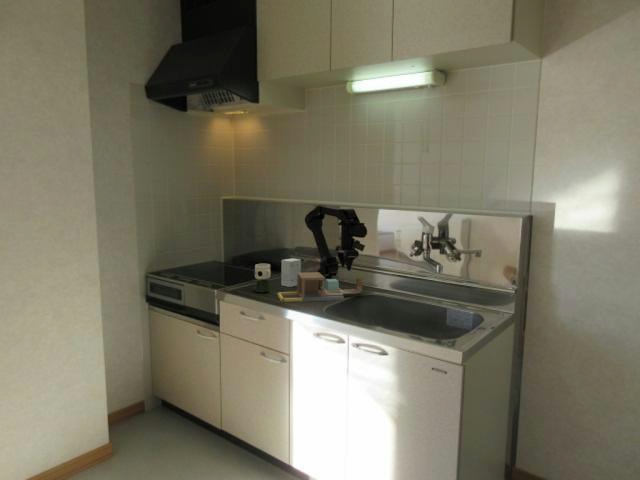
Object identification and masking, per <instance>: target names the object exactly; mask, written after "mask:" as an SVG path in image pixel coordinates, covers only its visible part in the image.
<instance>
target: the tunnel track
mask: <svg viewBox="0 0 640 480" xmlns="http://www.w3.org/2000/svg"><path fill="white" fill-rule="evenodd" d="M321 280H322V292H321V290H319V289H320V288H319V286H320V285H319V283H320V281H321ZM324 290H325V277H324V276H322V275H321V274H320V273H319V272H317V271H316V272H315V271H314V272H313V271H311V272H304V271H303V272H301V273H297V285H296V291H283V292H281V291H279V292H277V297H278V299H279V300H280V302H281V303H300V302H301V303H302V302H303V303H304V302H322V301H324V302H327V301H328V302H329V301H344V299H345V297H344V295H343V294H342V295H327V296H325V295H324Z"/></svg>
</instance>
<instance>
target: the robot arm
mask: <svg viewBox="0 0 640 480" xmlns="http://www.w3.org/2000/svg"><path fill="white" fill-rule="evenodd" d="M326 215H327V216H331V217H335V218H336V219H338V221H340V222H338V223H337V225H338V226H340V237H339V240H340V244H336V245H335V247H334V251H335V253H336V255H337V257H338V259H339V262H340V265H341V268H345V266H346V269H347V271H348V272H349V271H351V269H352V265H353V262H354V260H355V259H357V258H358V257H359V255H360V254H359V253H360V252H364V249H365V247H366V245H365V244H362V243H361V241H360V240H359V239H358V240H357V239H355V238H360V239H364V238H366V236H367V234H368V229H367V226H366V225H365V222H361V221H360V219H359V216H358V215H357V212H356V209H354V208H338V207H333V206H328V205H326V204H322V205H321V204H319V205H317V206H315V208H314V209H312V210H310V211H309V212H308V213H307V214H306V215H305V217H304V223H305V225H306V227H307V228H308V230H309V231H311V232H312V234H313V235H312V236H313V238H314V239H313V240H314V241H315V244H316V247H317V249H318V254H319V256H320V261H319V269H317V271H316V272H319V273H320V274H321V275H322V276H324V277H325V279H334V278H333V277H336V276H337V274H338V272H339V271H338V270H339V262H338V259H337V257H336V256H333V255H331V253H330V249H329V247H328V244H327V241H326V237H325V235H324V232H323V224H324V223H323V220H324V219H326V218H325V217H326ZM354 237H355V238H354ZM359 251H360V252H359ZM321 287H322V280H320V285H319V289H320V290H321Z"/></svg>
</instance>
